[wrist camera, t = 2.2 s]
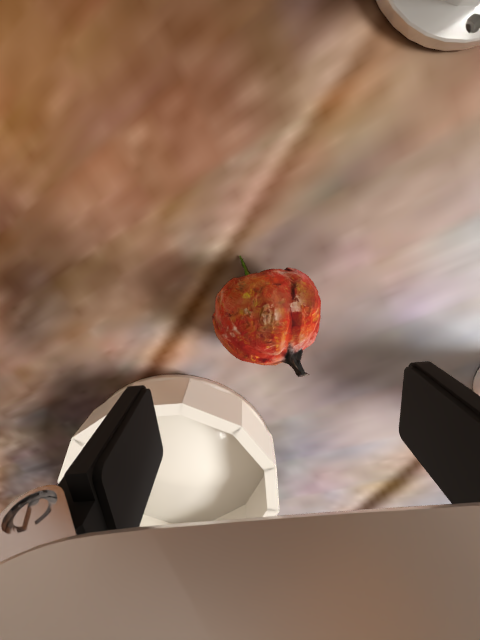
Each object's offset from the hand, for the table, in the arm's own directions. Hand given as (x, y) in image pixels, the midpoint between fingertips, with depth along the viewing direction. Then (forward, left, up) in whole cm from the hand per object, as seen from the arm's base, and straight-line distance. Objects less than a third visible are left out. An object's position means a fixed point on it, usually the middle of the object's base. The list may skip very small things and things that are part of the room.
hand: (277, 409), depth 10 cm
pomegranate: (-1, 0, -14) cm, 14 cm away
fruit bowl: (+14, -9, -13) cm, 21 cm away
